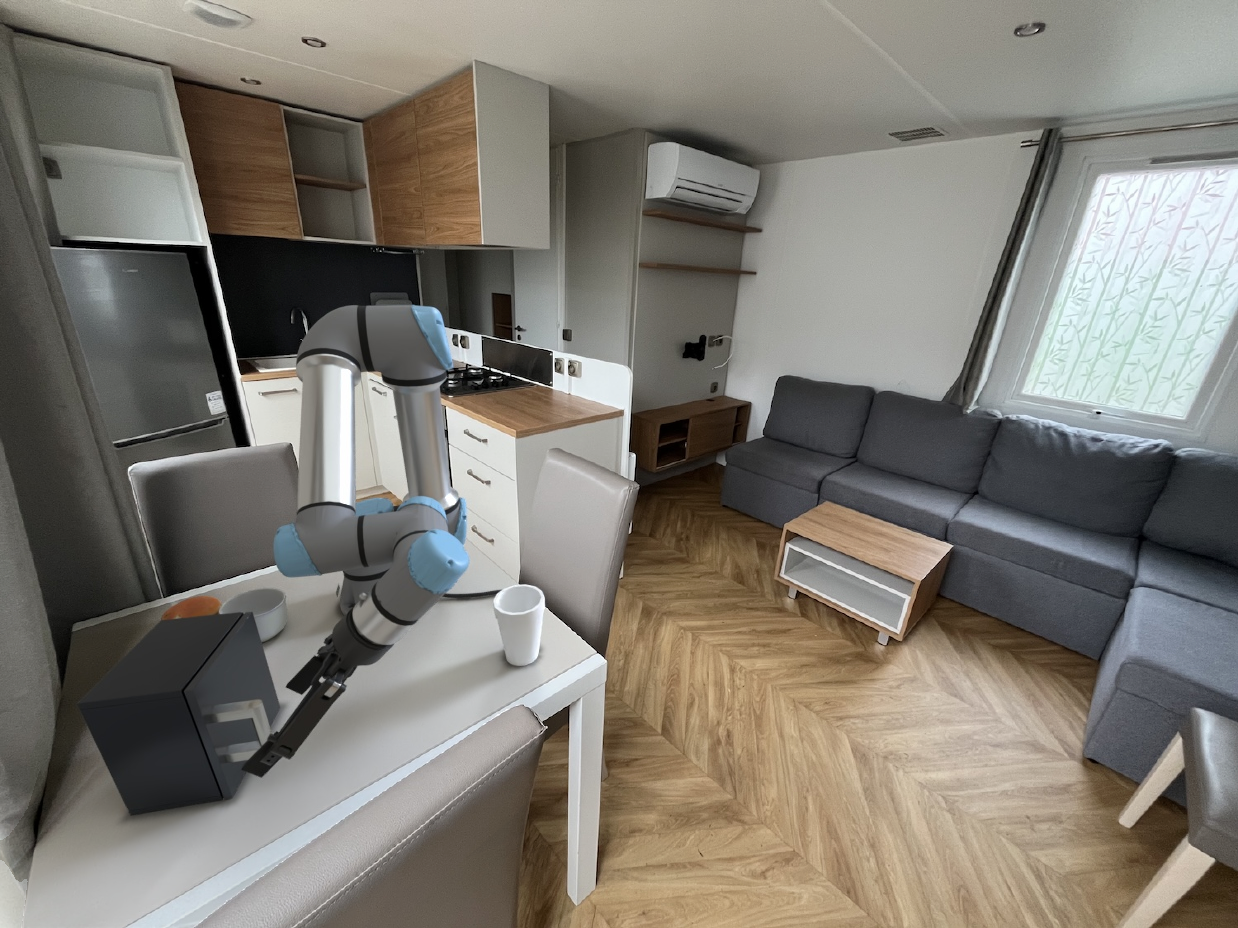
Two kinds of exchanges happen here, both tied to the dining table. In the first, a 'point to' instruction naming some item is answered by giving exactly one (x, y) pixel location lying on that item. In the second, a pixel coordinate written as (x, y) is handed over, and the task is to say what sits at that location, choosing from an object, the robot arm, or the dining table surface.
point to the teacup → (261, 609)
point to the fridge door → (234, 703)
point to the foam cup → (520, 622)
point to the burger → (193, 608)
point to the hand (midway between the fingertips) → (275, 726)
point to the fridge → (157, 716)
